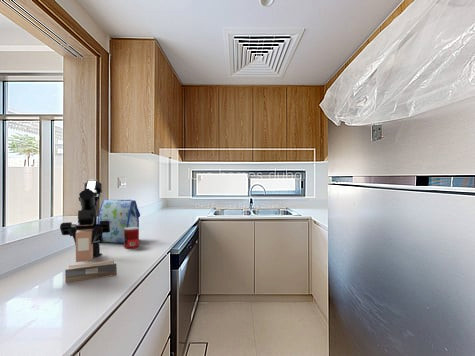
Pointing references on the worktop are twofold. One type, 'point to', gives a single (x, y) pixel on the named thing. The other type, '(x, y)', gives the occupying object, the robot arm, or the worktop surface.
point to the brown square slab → (90, 271)
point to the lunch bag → (118, 218)
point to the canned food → (131, 237)
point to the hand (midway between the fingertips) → (83, 244)
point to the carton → (84, 245)
